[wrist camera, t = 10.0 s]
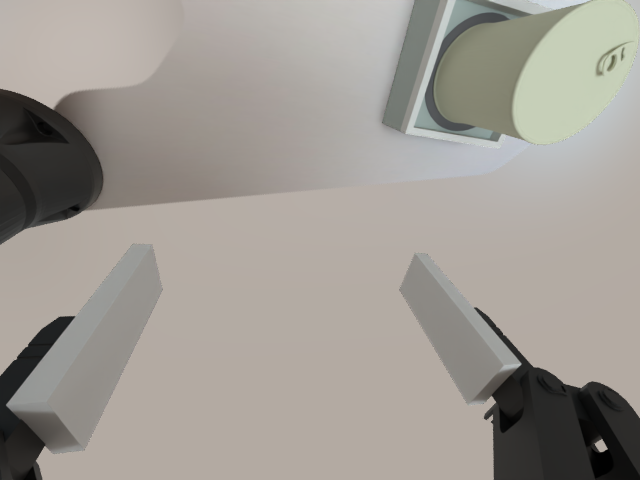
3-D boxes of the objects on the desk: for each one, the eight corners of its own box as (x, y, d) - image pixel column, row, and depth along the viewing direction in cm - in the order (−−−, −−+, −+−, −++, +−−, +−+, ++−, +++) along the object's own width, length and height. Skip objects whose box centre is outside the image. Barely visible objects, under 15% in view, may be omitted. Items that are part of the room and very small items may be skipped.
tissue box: (382, 122, 36) (405, 133, 29) (415, -3, 29) (455, -23, 23) (462, 136, 38) (499, 149, 32) (510, 25, 32) (568, 14, 25)
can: (517, 93, 30) (638, 104, 20) (444, 138, 32) (522, 168, 22) (508, 0, 25) (663, -45, 15) (422, 59, 27) (511, 52, 17)
